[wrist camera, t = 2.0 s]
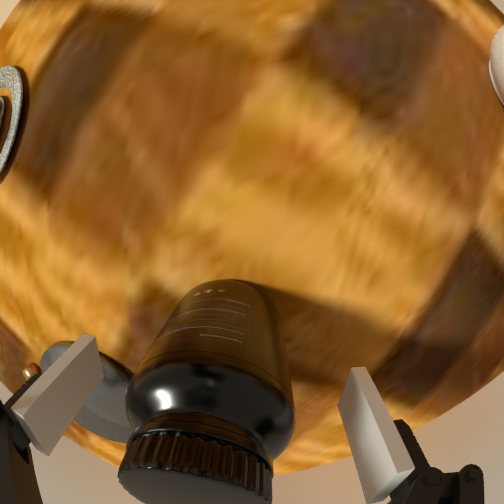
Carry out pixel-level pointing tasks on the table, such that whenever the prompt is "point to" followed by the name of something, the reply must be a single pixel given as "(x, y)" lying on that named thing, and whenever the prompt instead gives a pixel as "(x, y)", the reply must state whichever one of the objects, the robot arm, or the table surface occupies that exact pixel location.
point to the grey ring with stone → (13, 82)
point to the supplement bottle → (210, 402)
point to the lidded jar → (497, 63)
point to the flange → (96, 396)
